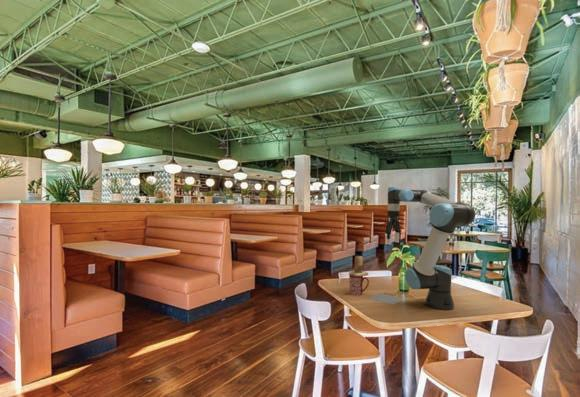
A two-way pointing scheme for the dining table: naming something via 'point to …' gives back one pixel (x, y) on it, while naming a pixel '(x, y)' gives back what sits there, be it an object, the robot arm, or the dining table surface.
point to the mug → (356, 285)
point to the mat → (386, 298)
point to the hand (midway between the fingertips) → (392, 243)
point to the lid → (358, 267)
